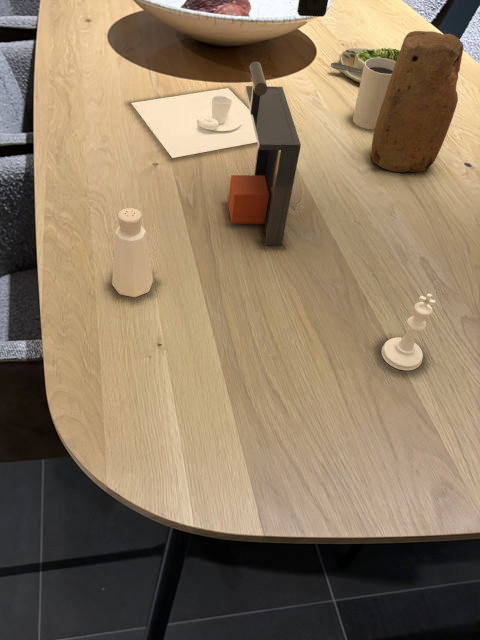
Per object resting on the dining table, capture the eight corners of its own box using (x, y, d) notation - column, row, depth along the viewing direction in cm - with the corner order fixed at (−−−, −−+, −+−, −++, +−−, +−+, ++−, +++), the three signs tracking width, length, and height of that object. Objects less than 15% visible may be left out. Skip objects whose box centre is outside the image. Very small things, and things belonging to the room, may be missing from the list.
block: (366, 168, 101) (403, 42, 86) (368, 146, 106) (403, 22, 91) (431, 179, 100) (481, 53, 85) (430, 156, 105) (477, 33, 90)
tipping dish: (288, 46, 80) (245, 45, 80) (309, 102, 71) (260, 101, 70) (267, 184, 96) (231, 184, 96) (281, 245, 87) (241, 245, 86)
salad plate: (334, 92, 119) (340, 68, 115) (321, 53, 130) (326, 30, 127) (430, 96, 120) (439, 73, 116) (409, 58, 131) (416, 35, 128)
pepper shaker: (150, 269, 82) (149, 199, 73) (155, 296, 78) (155, 226, 70) (110, 271, 81) (105, 201, 72) (113, 299, 77) (108, 228, 69)
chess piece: (387, 335, 76) (412, 274, 68) (425, 349, 75) (456, 289, 67) (376, 361, 73) (402, 300, 65) (416, 376, 72) (447, 316, 64)
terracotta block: (231, 174, 89) (228, 204, 92) (234, 194, 85) (231, 223, 89) (264, 175, 89) (260, 204, 93) (269, 194, 86) (264, 224, 90)
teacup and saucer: (204, 137, 105) (205, 114, 102) (186, 116, 109) (187, 93, 106) (248, 129, 107) (251, 107, 104) (229, 108, 112) (231, 86, 109)
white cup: (390, 130, 110) (408, 75, 102) (355, 130, 109) (370, 74, 102) (380, 112, 114) (396, 57, 107) (346, 112, 114) (360, 57, 106)
